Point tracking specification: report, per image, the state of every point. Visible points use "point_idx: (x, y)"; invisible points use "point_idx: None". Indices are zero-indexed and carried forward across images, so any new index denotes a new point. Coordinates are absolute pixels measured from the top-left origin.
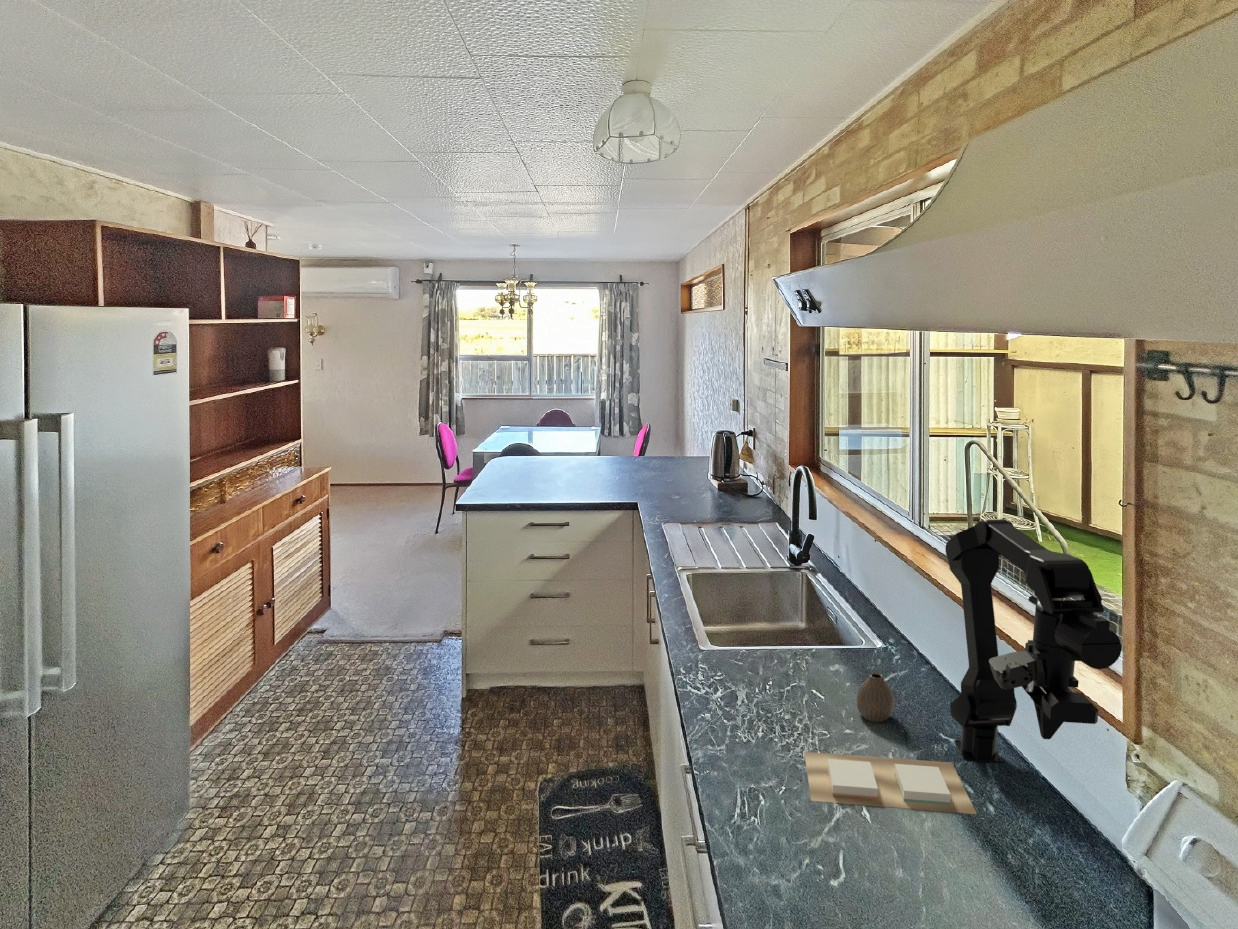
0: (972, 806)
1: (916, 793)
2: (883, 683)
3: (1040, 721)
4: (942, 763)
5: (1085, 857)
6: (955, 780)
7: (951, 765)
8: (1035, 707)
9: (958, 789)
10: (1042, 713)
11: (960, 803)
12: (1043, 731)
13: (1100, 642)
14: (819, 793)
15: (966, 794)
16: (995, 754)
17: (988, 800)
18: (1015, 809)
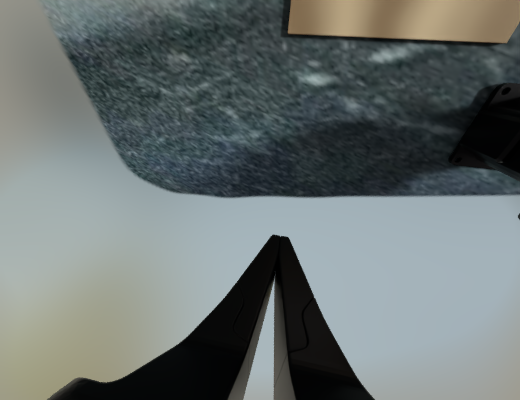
0: (314, 32)
1: None
2: None
3: (267, 276)
4: (518, 8)
5: (209, 167)
6: (423, 23)
7: (494, 36)
8: (318, 326)
9: (383, 17)
10: (209, 323)
11: (327, 1)
12: (260, 252)
13: None
14: None
15: (359, 33)
16: (480, 161)
17: (339, 84)
18: (308, 124)
